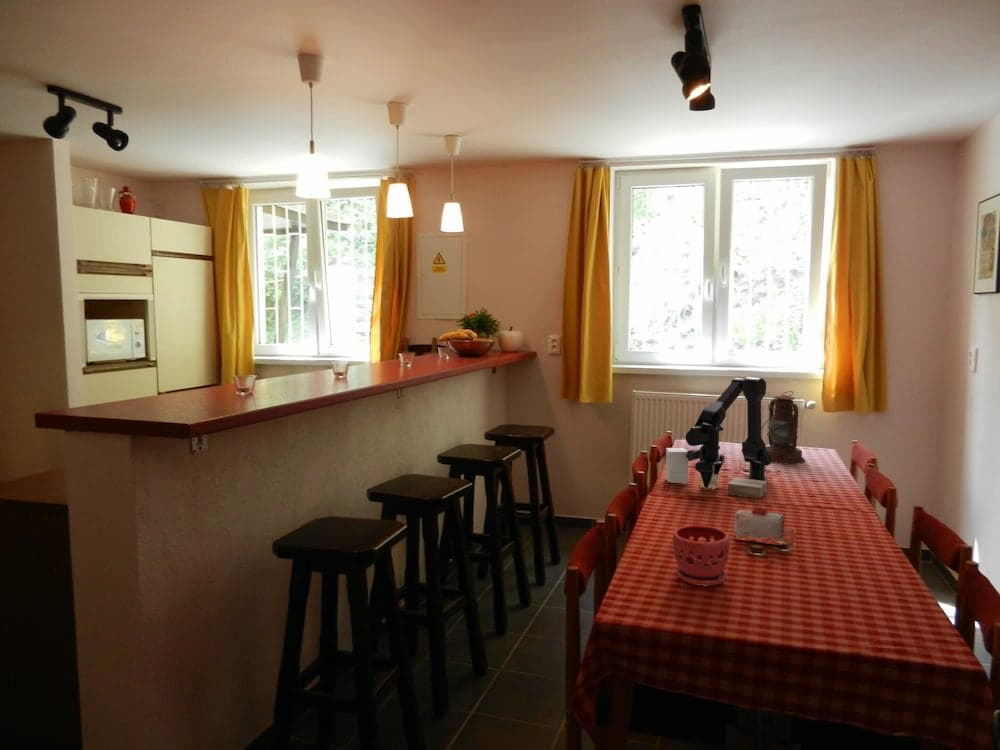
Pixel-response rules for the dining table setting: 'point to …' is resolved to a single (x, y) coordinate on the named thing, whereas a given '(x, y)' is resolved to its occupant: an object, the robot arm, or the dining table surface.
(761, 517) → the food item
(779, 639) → the dining table surface
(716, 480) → the birch cube
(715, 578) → the plant pot
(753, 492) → the beige flat block
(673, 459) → the supplement box
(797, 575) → the dining table surface
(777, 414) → the lantern
